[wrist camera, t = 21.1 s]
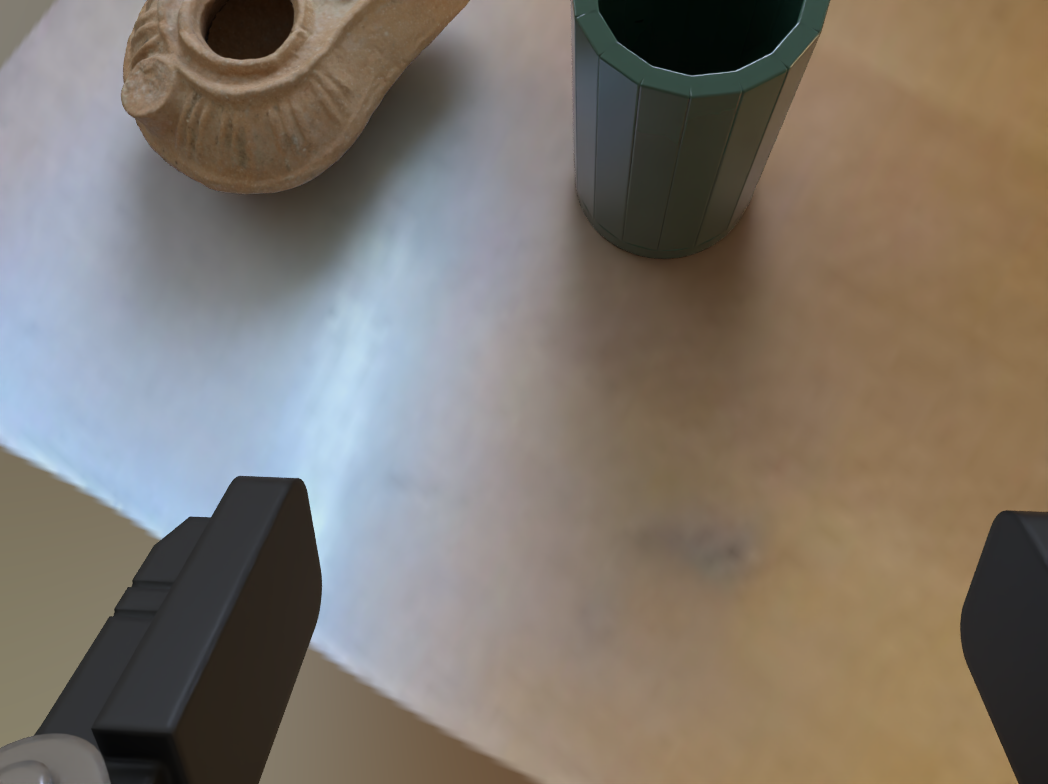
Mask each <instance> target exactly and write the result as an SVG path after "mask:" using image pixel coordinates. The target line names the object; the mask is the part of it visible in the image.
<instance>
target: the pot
mask: <svg viewBox="0 0 1048 784" xmlns="http://www.w3.org/2000/svg"><path fill="white" fill-rule="evenodd" d="M570 1H571V50H572V100H573V149H574V167H575V186H576V191H577V196H578V199H579V203H580V206H581V208H582V210H583V212H584V214H585V216H586V217H587V219H588V220H589V222H590V223H591V225H592V226H593V227H594V228H595V229H596V230H597V231H598V232H599V233H600V234H601V235H602V236H603V237H604V238H605V239H607V240H608V241H609V242H611V243H612V244H614V245H615V246H617V247H619V248H621V249H623V250H625V251H627V252H630V253H633V254H636V255H639V256H644V257H649V258H659V259H668V258H678V257H685V256H688V255H692V254H695V253H698V252H700V251H703V250H705V249H707V248H709V247H711V246H712V245H714V244H716V243H717V242H718V241H720V240H721V239H722V238H724V237H725V236H726V235H727V234H728V233H729V232H730V231H731V230H732V229H733V228H734V227H735V225H736V224H737V223H738V221H739V220H740V218H741V217H742V215H743V213H744V211H745V209H746V208H747V206H748V204H749V203H750V200H751V198H752V196H753V193H754V191H755V189H756V186H757V184H758V181H759V179H760V177H761V174H762V172H763V170H764V167H765V165H766V162H767V160H768V158H769V155H770V153H771V150H772V148H773V146H774V143H775V141H776V139H777V136H778V134H779V131H780V129H781V127H782V124H783V122H784V120H785V117H786V115H787V112H788V110H789V108H790V105H791V103H792V100H793V98H794V96H795V93H796V91H797V89H798V86H799V84H800V81H801V79H802V77H803V74H804V72H805V70H806V67H807V65H808V62H809V60H810V58H811V55H812V53H813V50H814V48H815V46H816V43H817V41H818V39H819V36H820V34H821V31H822V28H823V24H824V21H825V17H826V14H827V10H828V7H829V3H830V0H570Z"/></svg>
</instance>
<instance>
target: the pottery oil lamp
mask: <svg viewBox="0 0 1048 784" xmlns="http://www.w3.org/2000/svg"><path fill="white" fill-rule="evenodd" d="M469 1H470V0H147V1H146V2H145V4H144V6H143V7H142V10H141V12H140V13H139V16H138V19H137V21H136V22H135V25H134V28H133V31H132V33H131V35H130V36H129V39H128V42H127V47H126V53H125V57H124V65H123V73H124V74H123V79H124V85H123V88H122V91H121V100H122V105H123V107H124V109H125V111H126V112H128V114H129V115H131V116H132V117H134V118H135V120H136V123H137V125H138V126H139V128H140V130H141V132H142V134H143V136H144V137H145V139H146V140H147V142H148V143H149V145H150V147H151V148H152V149H153V150H154V151H155V152H157V153H158V154H159V155H160V156H161V157H162V158H163V160H164V161H165V162H167V163H168V164H169V165H170V166H172V167H174V168H175V169H176V170H178V171H180V172H182V173H183V174H185V175H186V176H188V177H190V178H191V179H193V180H195V181H197V182H200V183H202V184H203V185H204V186H206V187H208V188H210V189H213V190H216V191H222V192H227V193H237V194H252V193H254V194H261V193H274V192H281V191H285V190H289V189H292V188H295V187H298V186H300V185H303V184H305V183H307V182H309V181H310V180H312V179H314V178H316V177H317V176H319V175H320V174H321V173H322V172H324V171H325V170H326V169H328V168H329V167H330V166H331V165H332V164H334V163H335V162H337V161H338V160H339V159H340V158H341V157H342V156H343V155H344V153H345V152H346V151H347V150H348V149H349V148H350V147H351V146H352V145H353V144H354V143H355V141H356V140H357V138H358V137H359V136H360V134H361V133H362V131H363V130H364V128H365V126H366V124H367V123H368V121H369V119H370V117H371V116H372V114H373V112H374V111H375V110H376V108H377V107H378V106H379V105H380V103H381V101H382V100H383V97H384V96H385V94H386V93H387V91H388V90H389V89H390V88H391V86H392V85H393V84H394V83H395V82H396V80H397V79H398V78H399V77H400V75H401V74H402V73H403V71H404V70H405V69H406V68H407V67H408V66H409V64H410V63H411V62H412V61H413V60H414V59H416V57H417V56H418V55H419V54H420V53H421V51H422V50H423V49H425V48H426V47H427V46H428V45H429V44H430V43H431V42H432V41H433V40H434V39H435V38H436V37H437V36H438V35H439V34H440V33H441V31H442V30H443V29H444V28H445V27H446V26H447V25H448V23H449V22H451V21H452V20H453V19H454V17H455V16H456V15H457V14H458V13H459V12H460V11H461V10H462V9H463V8H464V7H465V6H466V5H467V4H468V2H469Z"/></svg>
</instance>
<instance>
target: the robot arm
mask: <svg viewBox="0 0 1048 784" xmlns="http://www.w3.org/2000/svg"><path fill="white" fill-rule="evenodd" d="M321 595H322V576H321V568H320V562H319V557H318V551H317V545H316V539H315V533H314V528H313V522H312V516H311V510H310V504H309V499H308V493H307V489H306V486H305V484H304V482H303V481H302V480H301V479H299V478H279V477H255V476H238V477H236V478H235V479H234V480H233V481H232V482H231V484H230V485H229V487H228V489H227V490H226V492H225V494H224V496H223V497H222V499H221V501H220V503H219V504H218V506H217V508H216V510H215V511H214V513H213V515H212V517H211V518H209V517H189V518H188V519H186V520H185V521H184V522H183V523H181V524H180V525H179V526H178V527H176V528H175V529H174V530H173V531H172V532H170V533H169V534H168V535H167V536H165V537H164V538H163V539H162V540H160V541H159V542H158V543H157V544H155V545H154V547H153V548H152V550H151V551H150V553H149V555H148V556H147V558H146V559H145V561H144V563H143V564H142V566H141V567H140V569H139V570H138V572H137V574H136V575H135V577H134V578H133V584H132V587H128V588H127V590H126V591H125V593H124V594H123V596H122V598H121V599H120V601H119V602H118V604H117V606H116V607H115V609H114V610H115V613H114V616H113V617H109V618H108V620H107V621H106V623H105V625H104V626H103V628H102V629H101V631H100V633H99V634H98V636H97V638H96V639H95V640H94V642H93V644H92V645H91V647H90V649H89V650H88V652H87V653H86V655H85V656H84V658H83V660H82V661H81V663H80V664H79V666H78V668H77V669H76V671H75V672H74V674H73V676H72V677H71V679H70V680H69V682H68V683H67V685H66V687H65V688H64V690H63V691H62V693H61V695H60V696H59V698H58V699H57V701H56V703H55V704H54V706H53V707H52V709H51V711H50V712H49V714H48V715H47V717H46V719H45V720H44V722H43V723H42V725H41V727H40V728H39V729H38V730H37V732H36V733H35V735H34V736H32V737H27V738H23V739H21V740H18V741H15V742H13V743H10V744H8V745H6V746H4V747H1V748H0V784H258V783H259V781H260V778H261V775H262V772H263V769H264V767H265V764H266V761H267V759H268V756H269V753H270V750H271V747H272V745H273V742H274V739H275V737H276V734H277V731H278V728H279V725H280V723H281V720H282V717H283V715H284V712H285V709H286V706H287V703H288V701H289V698H290V695H291V692H292V690H293V687H294V684H295V682H296V678H297V676H298V673H299V670H300V667H301V665H302V662H303V659H304V657H305V654H306V651H307V648H308V646H309V643H310V640H311V637H312V635H313V632H314V629H315V626H316V623H317V620H318V616H319V611H320V604H321ZM960 632H961V643H962V649H963V653H964V657H965V660H966V663H967V665H968V668H969V670H970V672H971V674H972V677H973V679H974V681H975V684H976V686H977V688H978V691H979V693H980V695H981V698H982V700H983V702H984V705H985V707H986V709H987V712H988V714H989V716H990V718H991V721H992V723H993V725H994V728H995V730H996V732H997V735H998V737H999V739H1000V742H1001V744H1002V746H1003V749H1004V751H1005V753H1006V756H1007V758H1008V760H1009V762H1010V765H1011V767H1012V769H1013V772H1014V774H1015V776H1016V779H1017V781H1018V783H1019V784H1048V512H1032V511H1008V510H1006V511H1002V512H1001V513H999V514H998V515H997V516H996V518H995V519H994V521H993V523H992V526H991V528H990V531H989V534H988V537H987V540H986V542H985V545H984V548H983V551H982V554H981V557H980V559H979V562H978V565H977V568H976V571H975V573H974V576H973V579H972V582H971V585H970V588H969V590H968V593H967V596H966V599H965V602H964V605H963V608H962V614H961V623H960Z"/></svg>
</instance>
